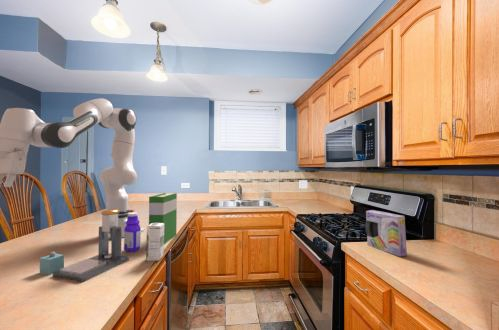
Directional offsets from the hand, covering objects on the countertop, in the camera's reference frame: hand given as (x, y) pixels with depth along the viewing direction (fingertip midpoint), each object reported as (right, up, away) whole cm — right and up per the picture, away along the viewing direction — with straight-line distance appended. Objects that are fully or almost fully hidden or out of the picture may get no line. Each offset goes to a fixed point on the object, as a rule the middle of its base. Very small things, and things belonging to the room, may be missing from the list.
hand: (2, 186), depth 84 cm
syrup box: (+48, -32, +16) cm, 60 cm away
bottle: (+34, -32, +26) cm, 53 cm away
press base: (+29, -32, +6) cm, 43 cm away
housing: (+15, -32, +3) cm, 35 cm away
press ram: (+31, -23, +13) cm, 41 cm away
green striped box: (+42, -33, +42) cm, 68 cm away
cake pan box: (+152, -33, +27) cm, 158 cm away
